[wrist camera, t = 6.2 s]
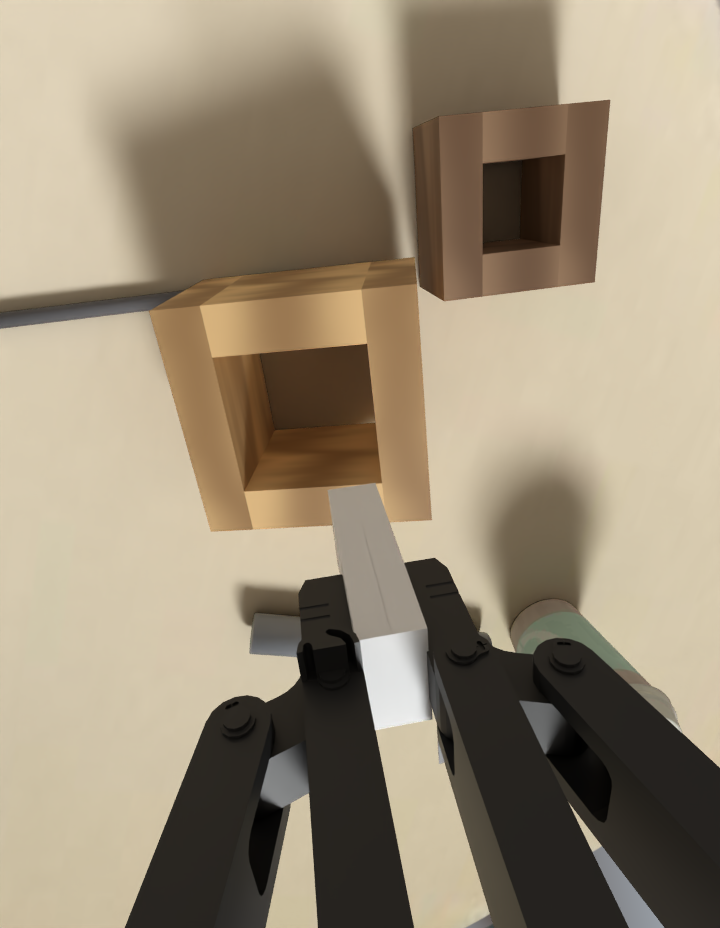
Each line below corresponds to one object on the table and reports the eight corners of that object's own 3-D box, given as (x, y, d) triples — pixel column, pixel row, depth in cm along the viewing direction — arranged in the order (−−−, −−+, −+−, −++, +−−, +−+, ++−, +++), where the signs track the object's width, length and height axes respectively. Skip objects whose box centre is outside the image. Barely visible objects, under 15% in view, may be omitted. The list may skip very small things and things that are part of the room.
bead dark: (420, 286, 33) (444, 301, 28) (412, 128, 29) (438, 116, 25) (551, 270, 34) (594, 282, 29) (559, 113, 30) (610, 99, 26)
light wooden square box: (246, 464, 36) (211, 531, 30) (203, 279, 31) (149, 311, 25) (426, 452, 35) (431, 520, 29) (414, 257, 30) (416, 284, 23)
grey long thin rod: (-23, 330, 30) (-30, 333, 30) (-29, 315, 30) (-36, 317, 29) (288, 292, 32) (289, 294, 31) (286, 277, 32) (286, 279, 31)
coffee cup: (529, 572, 43) (615, 695, 33) (613, 600, 46) (718, 723, 35) (474, 653, 46) (537, 792, 36) (557, 675, 49) (638, 811, 38)
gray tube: (256, 623, 38) (496, 643, 43) (255, 605, 41) (480, 625, 45) (249, 662, 39) (487, 678, 43) (249, 641, 42) (472, 658, 46)
